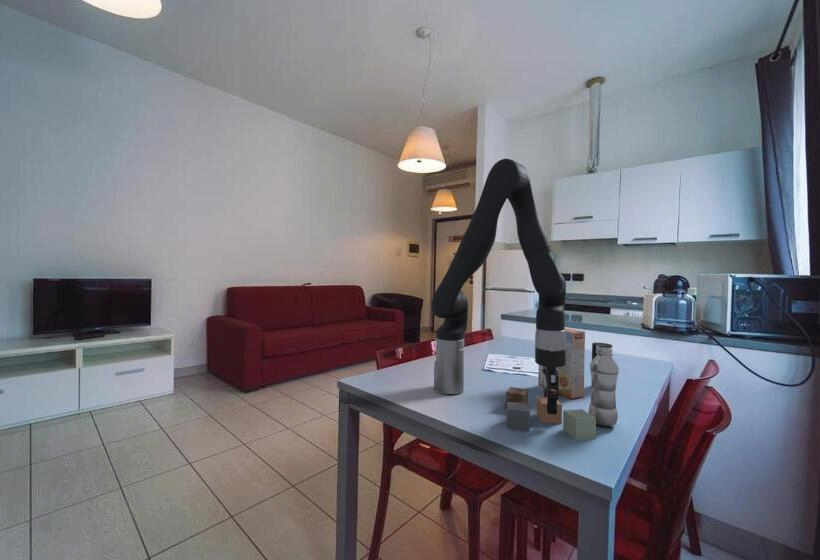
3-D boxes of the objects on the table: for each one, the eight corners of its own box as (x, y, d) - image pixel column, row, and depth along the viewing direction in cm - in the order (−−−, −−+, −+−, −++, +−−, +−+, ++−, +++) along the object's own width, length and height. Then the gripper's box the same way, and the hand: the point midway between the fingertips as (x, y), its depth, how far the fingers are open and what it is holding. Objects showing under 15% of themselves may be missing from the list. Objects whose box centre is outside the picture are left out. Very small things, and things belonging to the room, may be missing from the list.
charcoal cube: (508, 429, 81) (508, 409, 81) (506, 420, 86) (506, 401, 86) (529, 431, 80) (529, 411, 80) (526, 422, 85) (527, 403, 85)
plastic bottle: (606, 418, 88) (608, 343, 87) (624, 430, 81) (625, 349, 81) (583, 418, 87) (584, 343, 87) (598, 430, 81) (599, 349, 80)
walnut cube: (505, 409, 93) (505, 391, 93) (510, 403, 98) (510, 386, 98) (523, 413, 91) (523, 395, 91) (527, 407, 95) (527, 389, 95)
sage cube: (576, 440, 76) (576, 419, 76) (563, 430, 81) (563, 410, 81) (595, 439, 76) (596, 417, 76) (581, 429, 81) (581, 409, 81)
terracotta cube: (541, 422, 85) (541, 403, 85) (536, 414, 90) (536, 396, 90) (561, 423, 84) (562, 404, 84) (555, 415, 89) (555, 397, 89)
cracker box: (585, 397, 103) (586, 331, 103) (570, 400, 101) (571, 332, 100) (550, 383, 116) (551, 324, 116) (537, 385, 114) (538, 325, 113)
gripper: (533, 340, 94) (533, 396, 94) (536, 350, 81) (536, 416, 81) (561, 342, 92) (561, 399, 92) (570, 352, 79) (570, 420, 79)
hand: (550, 407), depth 87 cm, fingers open, 8 cm apart
